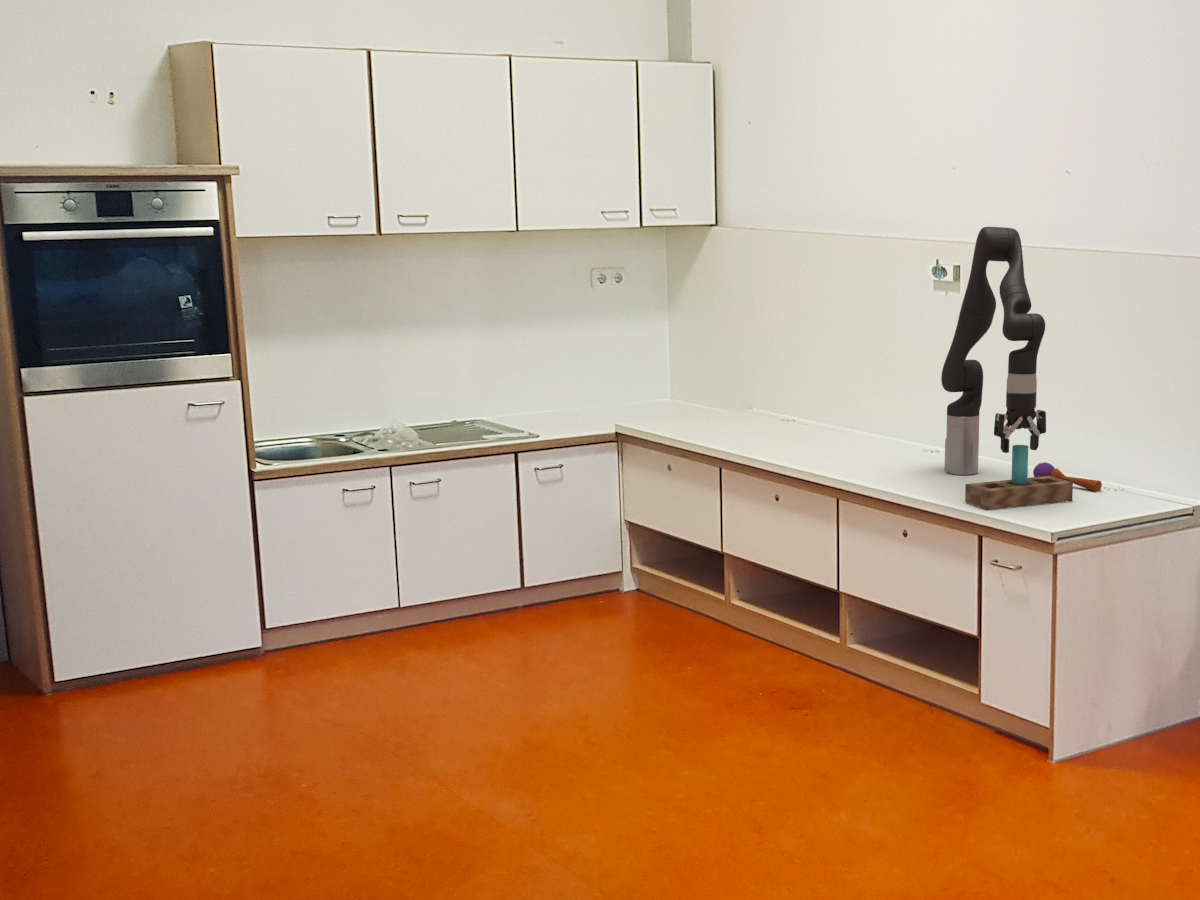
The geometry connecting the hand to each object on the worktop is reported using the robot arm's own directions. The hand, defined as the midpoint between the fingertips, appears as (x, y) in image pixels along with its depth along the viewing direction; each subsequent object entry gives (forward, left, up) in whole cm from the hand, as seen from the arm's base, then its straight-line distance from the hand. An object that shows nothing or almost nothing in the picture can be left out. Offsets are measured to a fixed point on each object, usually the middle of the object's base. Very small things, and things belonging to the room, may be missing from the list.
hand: (1019, 451), depth 352 cm
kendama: (-11, +23, -14) cm, 30 cm away
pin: (0, 0, -13) cm, 13 cm away
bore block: (0, 0, -14) cm, 14 cm away
